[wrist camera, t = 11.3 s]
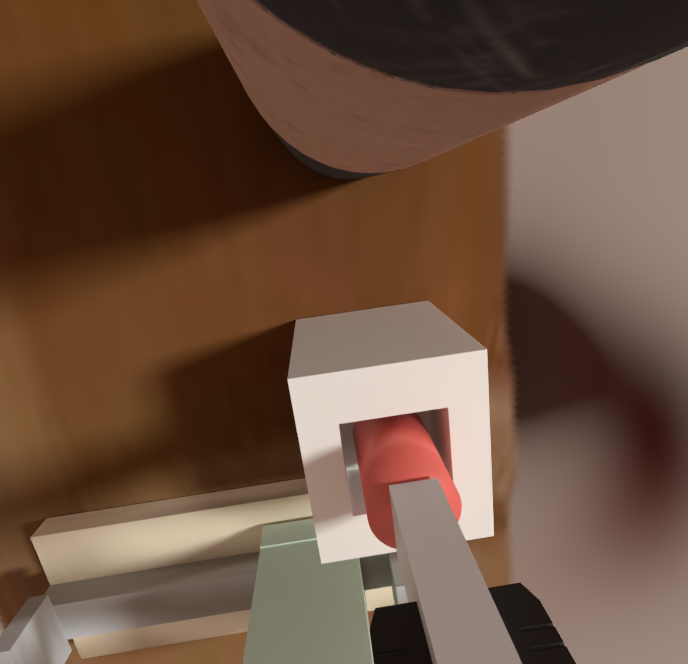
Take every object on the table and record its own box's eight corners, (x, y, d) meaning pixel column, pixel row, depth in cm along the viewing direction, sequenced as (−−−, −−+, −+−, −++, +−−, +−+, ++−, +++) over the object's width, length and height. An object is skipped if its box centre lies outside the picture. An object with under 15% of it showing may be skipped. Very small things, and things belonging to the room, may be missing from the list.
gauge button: (348, 405, 18) (361, 478, 13) (420, 394, 18) (459, 463, 13) (357, 467, 19) (372, 557, 14) (425, 456, 19) (464, 543, 14)
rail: (46, 518, 25) (-34, 613, 19) (389, 464, 25) (412, 540, 20) (93, 634, 27) (35, 749, 22) (403, 583, 28) (427, 682, 22)
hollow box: (296, 319, 22) (287, 379, 15) (428, 300, 23) (487, 349, 15) (318, 452, 25) (321, 563, 17) (438, 434, 25) (494, 535, 17)
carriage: (263, 526, 24) (232, 725, 15) (352, 512, 24) (377, 700, 15) (282, 611, 26) (265, 836, 16) (365, 598, 26) (394, 813, 17)
